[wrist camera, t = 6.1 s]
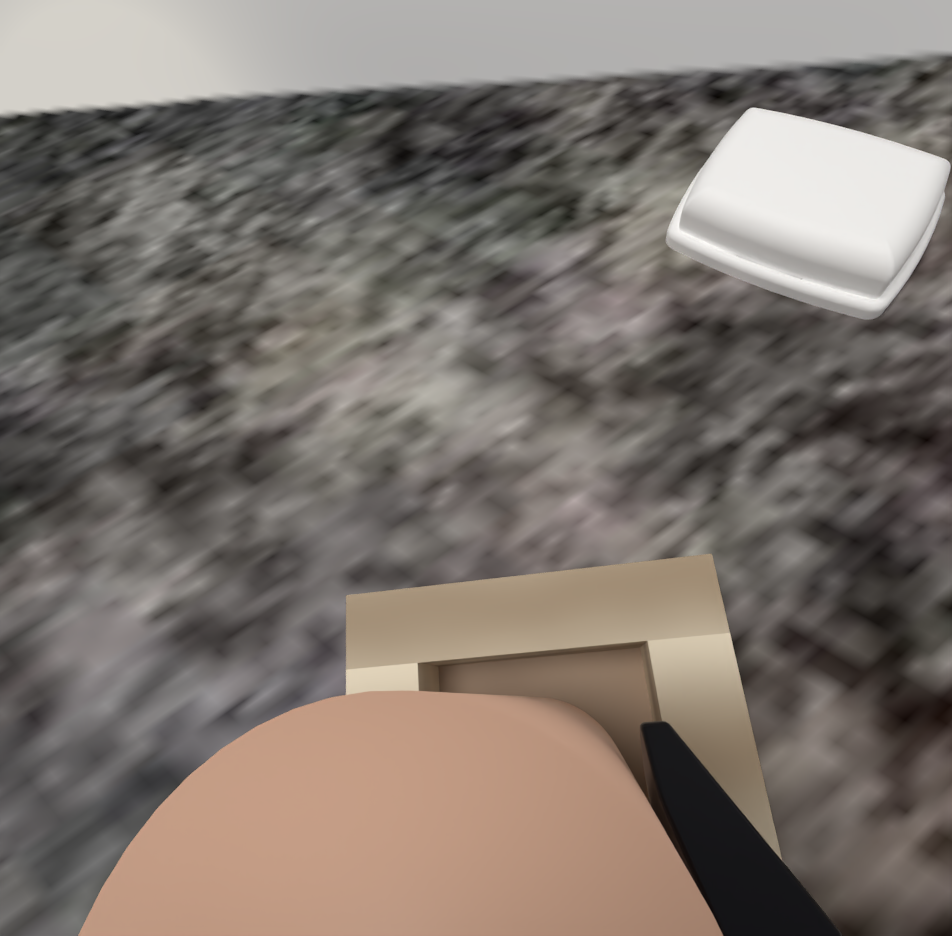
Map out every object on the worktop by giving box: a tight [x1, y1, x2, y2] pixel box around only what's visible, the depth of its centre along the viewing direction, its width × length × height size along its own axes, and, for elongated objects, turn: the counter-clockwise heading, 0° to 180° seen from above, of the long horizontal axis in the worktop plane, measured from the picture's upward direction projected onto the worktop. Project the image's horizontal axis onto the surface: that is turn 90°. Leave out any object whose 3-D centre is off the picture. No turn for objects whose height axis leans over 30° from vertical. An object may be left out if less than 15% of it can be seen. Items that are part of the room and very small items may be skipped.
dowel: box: [78, 690, 723, 936], centre depth 9 cm, size 4×4×12 cm
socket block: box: [346, 554, 782, 860], centre depth 17 cm, size 11×11×3 cm
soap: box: [666, 108, 950, 320], centre depth 23 cm, size 9×7×3 cm
